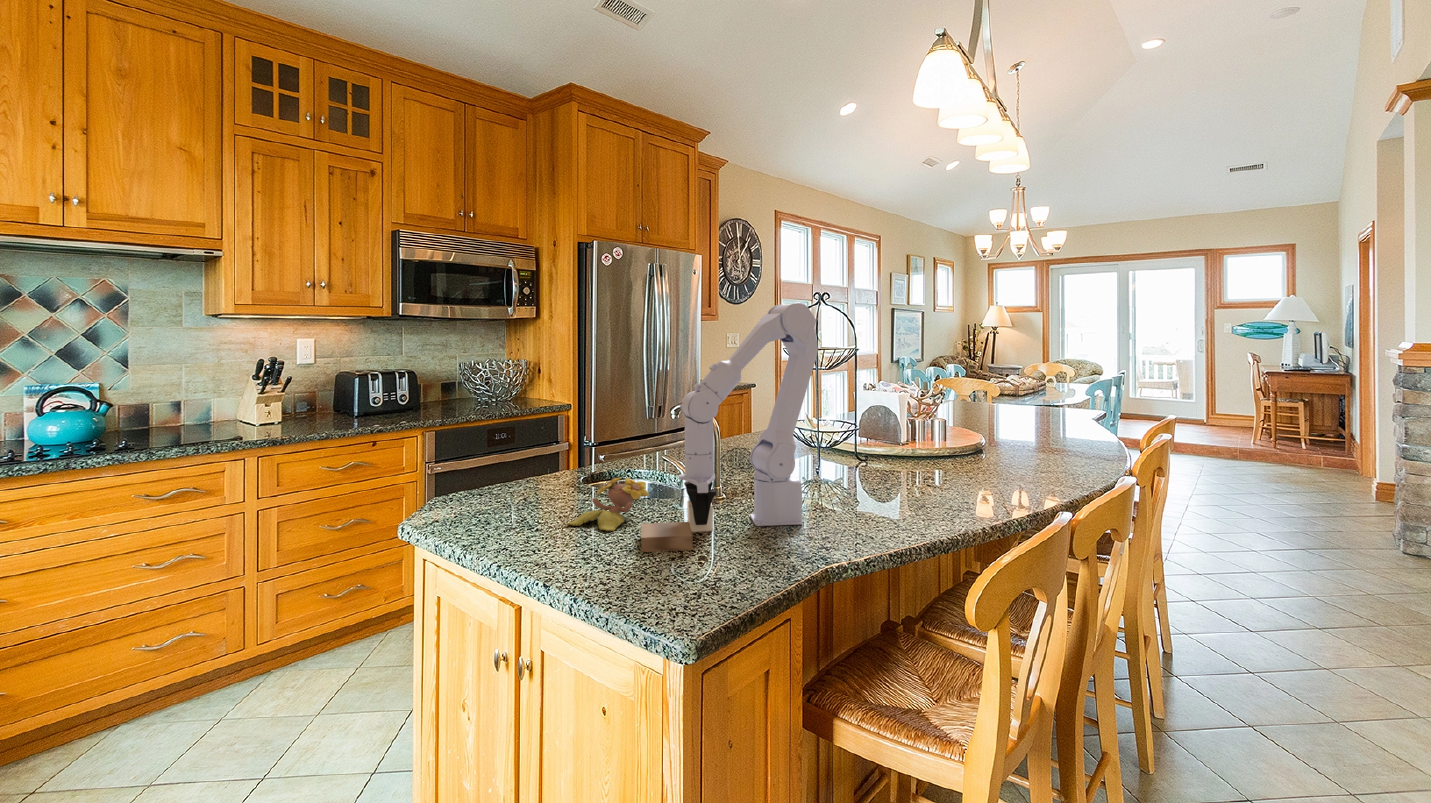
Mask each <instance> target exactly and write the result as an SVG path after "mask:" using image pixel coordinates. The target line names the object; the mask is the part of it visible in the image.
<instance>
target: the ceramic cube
mask: <svg viewBox="0 0 1431 803" xmlns="http://www.w3.org/2000/svg"><path fill="white" fill-rule="evenodd" d="M686 504H687V506H686V507H687V510H686V511H687V522H689V524H690V528H691V532H692V533H694V532H695V533H696V532H712V531H714V517H713V516H714V507H713V506H714V505H713V504H712V503H711V506H710V511H709V516H708V521H707V525H696V523H695V519H694V514H693V507H692V503H691V501H690V500H687V502H686Z"/></svg>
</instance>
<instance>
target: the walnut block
mask: <svg viewBox="0 0 1431 803" xmlns="http://www.w3.org/2000/svg"><path fill="white" fill-rule="evenodd" d="M640 526H641V528H640V529H641V530H640V532H641V534H640V536H641V539H640V540H641V553H649V552H650V553H651V552H652V553H653V552H669V551H670V552H671V551H675V552H676V551H693V549H694V547H693V544H694V542H693V532H691V528H690V524H689V522H688V521H676V522H673V521H671V522H655V523H654V522H651V523H650V522H649V523H648V522H647V523H645V522H644V523H641V524H640Z"/></svg>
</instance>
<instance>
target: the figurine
mask: <svg viewBox="0 0 1431 803" xmlns="http://www.w3.org/2000/svg"><path fill="white" fill-rule="evenodd" d="M621 479H622V476H619V477H616V478H612V479H611V480H610V481H608V482H607V483H605V484H604V485H603V486H602V487H601V488H600V489H599V490H598V491H597V492H596V495H600V494H602V493H603V492H606V491H607V490H608V492H607V496H608V499H609V500H610V502H611V503H612V504H613V505H605V504H603V503H602V502H601V501H599V500H598V499H597V497H593V498H592V503H593V505H594V506H595V507H596V508H599V509H600V510H597V509H596V510H591V511H585V512H582V513H581V514H579V516H578V517H576V518H575V519H574V520H573V521H570V522H566V525H568V526H576V527H578V526H582V525H583V524H584V523H585V524H586V523H587V522H588V521H591V522H592V521H594V520H596V519H597V525H598V529H599V530H601V531H605V532H606V531H607V532H611V531H612V532H615V530H617V528H618V527H620V525H621V524H623V523H624V521H625V517H624V515H621V513H628V512H629V511H631V509H632V507H633V504H634V502H635V501H637V500H638V499H640V498H642V497H644V498H645V497H648V496H650V494H649V492H648V490H647V489H646V482H645V481H641V480H640V481H637V482H636V480H633V479H631V478H629V477H626V478H625V479H624V484H623V483H617V482H618V481H620V480H621ZM615 483H617V484H615Z"/></svg>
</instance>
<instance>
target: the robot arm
mask: <svg viewBox="0 0 1431 803" xmlns="http://www.w3.org/2000/svg"><path fill="white" fill-rule="evenodd" d="M816 323H817V319H816V317H815V315H814V314H813V313H812V311H811V309H810V308H809V307H808V306H807V305H806V304H805V303H801V302H792V303H790V304H777V305H774V306H771V308H770V309H769V310H768V311H767V313H766V314H764V315H763V316H762V317H761V318H760V319H759V321H758V322H757V323H756V324H755V326H754V327H753V329H752V330H750V332H749V333H748V335H747V336H746V337H745V338H744V340H743V341H742V342H741V343H740V345H739V346H738V347H737V349H736V350H735V351H734V352H733V353H732V355H731V356H730V357H729V359H728V360H719V361H718V362H717V363H712V364H711V365H710V366H709V367H708V368H709V370H710V371H709V372H708V373H707V374H706V375H705V377H704V378H703V379H702V380H701V381H700V382H699V383H698V382H697V383H695V384H694V385H693V388H694V389H695V390H693V391H690V392H688V393H686V395H685V396H683V399H682V403H681V404H680V405H679V409H680V411H681V414H682V415H683V416H684V474H683V473H682V474H679V475H678V479H679V480H681V481H682V480H683V481H684V482H683V484H684V486H685V490H686V493H687V495H688V499H689V501H691V503H692V507H693V514H694V519H695V523H696V525H707V521H708V516H709V511H710V506H711V503H712V502H713V500H714V498H715V496H716V493H717V490H716V489H711V488H712V486H713V481H715V480H716V474H715V438H714V437H715V433H714V432H715V430H714V418H715V417H717V415H718V412H719V405H721V404H722V403H723V402H724V401H725V399H726V398H727V397H728V396H729V395H730V394H731V393H732V391H733V390H734V389H735V388H736V387H737V386H738V384H739V383H740V382H741V381H742V370H743V369H745V368H746V367H747V365H748V364H749V363H751V361H752V360H753V359H754V358H755V357H756V356H757V355H758V354H759V353H760V352H761V351H762V350H763V349H764V347H766V346H767V344H768V343H771V342H775V341H778V340H780V341H781V342H782V343H783V346H784V347H785V349H786V350H787V352H788V354H789V355H788V359H787V361H786V365H785V368H784V372H783V375H782V379H781V382H780V385H779V388H778V393H777V395H776V399H775V402H774V406H773V409H772V413H771V415H770V417H769V418H770V419H769V422H768V425H767V427H766V429H765V430H764V431H763V432H762V433H761V434H760V436H759V439H758V442H757V443H756V445H754V447H753V448H752V449H751V452H750V456H749V459H750V464H751V466H752V467H753V469H754V470H755V472H754V477H753V478H754V479H753V482H754V488H753V489H754V493H753V494H754V495H753V496H754V497H753V498H754V505H753V506H754V508H753V510H754V512H753V513H750V514H749V517H750V519H751V520H752V522H753V523H754V525H755V526H756V527H767V526H791V525H792V526H793V525H803V490H802V488H803V487H802V483H801V480H800V478H799V477H792V476H791V475H792V474H793V472H794V470H795V467H796V458H795V454H796V448H797V444H796V441H795V439H794V438H795V437H794V433H795V430H796V428H797V427H796V425H797V423H798V421H799V420H798V419H799V416H800V414H801V410H802V406H803V403H804V399H805V397H806V393H807V390H808V386H809V383H810V380H811V377H812V372H813V370H814V367H815V363H816V360H817V357H818V353H819V352H818V351H819V347H818V341H817V340H818V339H817V335H816Z"/></svg>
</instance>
